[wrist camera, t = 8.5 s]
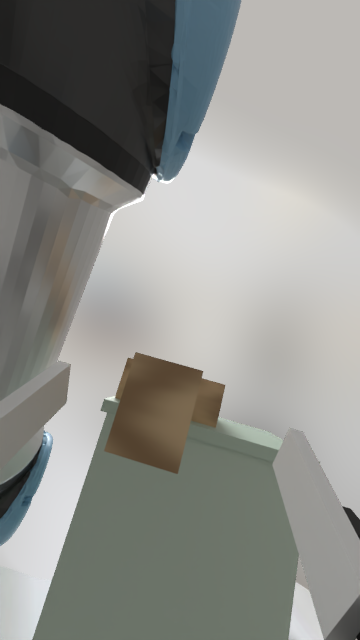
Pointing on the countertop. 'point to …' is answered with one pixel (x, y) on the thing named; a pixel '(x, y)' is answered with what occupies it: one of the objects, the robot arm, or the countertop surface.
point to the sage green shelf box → (177, 545)
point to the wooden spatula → (160, 410)
